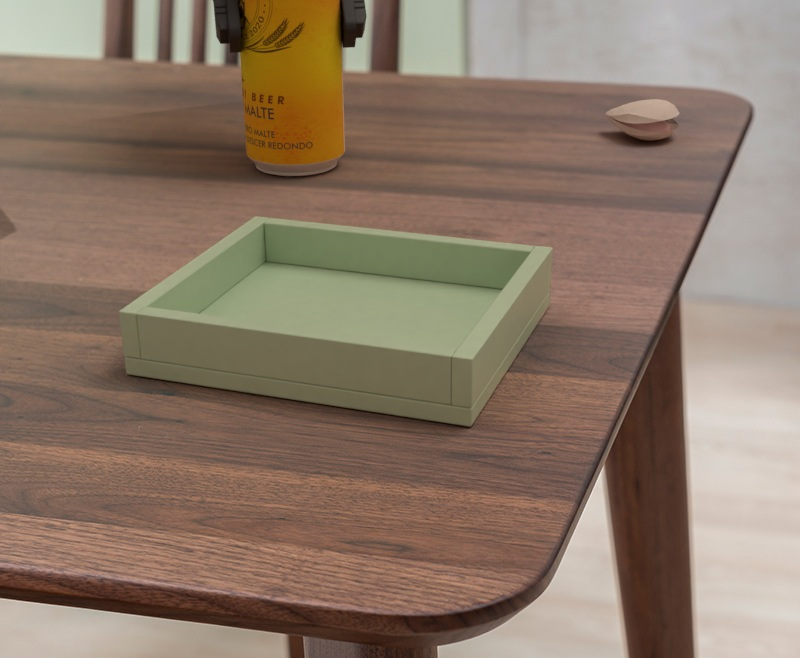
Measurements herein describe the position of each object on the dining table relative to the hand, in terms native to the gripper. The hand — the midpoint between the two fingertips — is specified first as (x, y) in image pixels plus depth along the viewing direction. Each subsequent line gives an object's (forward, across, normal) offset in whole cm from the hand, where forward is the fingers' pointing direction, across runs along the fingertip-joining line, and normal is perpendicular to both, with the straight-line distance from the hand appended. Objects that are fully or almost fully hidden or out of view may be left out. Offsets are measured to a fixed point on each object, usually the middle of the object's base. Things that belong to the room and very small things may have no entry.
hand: (292, 41), depth 73 cm
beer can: (+4, 0, -7) cm, 8 cm away
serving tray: (+24, 0, +13) cm, 27 cm away
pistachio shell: (+3, -23, -8) cm, 25 cm away
